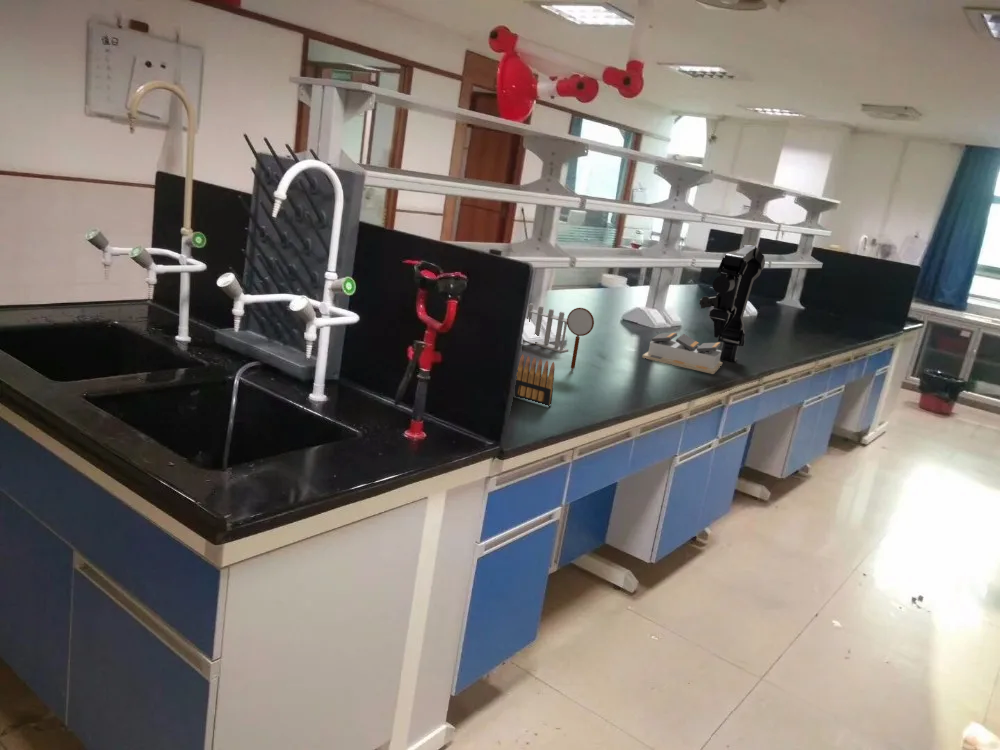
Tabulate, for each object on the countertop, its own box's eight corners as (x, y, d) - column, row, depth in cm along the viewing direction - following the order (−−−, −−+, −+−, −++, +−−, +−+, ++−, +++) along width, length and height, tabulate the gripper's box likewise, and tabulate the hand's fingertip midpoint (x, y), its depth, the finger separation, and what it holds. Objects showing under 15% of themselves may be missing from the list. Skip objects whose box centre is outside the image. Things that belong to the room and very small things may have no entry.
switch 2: (703, 345, 268) (703, 342, 268) (721, 345, 265) (721, 341, 265) (696, 351, 258) (696, 347, 257) (715, 350, 255) (715, 347, 255)
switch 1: (659, 336, 274) (659, 333, 274) (677, 335, 271) (677, 332, 271) (651, 341, 264) (651, 337, 263) (670, 340, 261) (669, 337, 261)
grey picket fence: (504, 335, 267) (509, 299, 264) (511, 334, 271) (516, 298, 267) (561, 353, 253) (567, 315, 249) (568, 351, 256) (574, 314, 253)
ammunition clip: (511, 397, 196) (517, 353, 193) (514, 396, 198) (521, 352, 194) (548, 408, 192) (555, 363, 188) (551, 406, 193) (558, 362, 190)
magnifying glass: (586, 373, 230) (596, 310, 225) (584, 374, 229) (595, 311, 223) (560, 367, 234) (570, 304, 228) (558, 368, 232) (568, 305, 227)
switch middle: (682, 336, 271) (684, 333, 270) (697, 345, 269) (699, 342, 268) (675, 341, 260) (677, 338, 260) (691, 350, 258) (693, 347, 258)
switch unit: (654, 349, 278) (657, 334, 276) (722, 364, 269) (725, 348, 267) (642, 357, 262) (645, 341, 260) (713, 374, 253) (717, 357, 251)
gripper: (709, 284, 267) (700, 327, 271) (699, 289, 250) (689, 334, 254) (741, 290, 262) (731, 333, 266) (732, 295, 246) (722, 341, 250)
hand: (718, 335), depth 259 cm, fingers open, 9 cm apart
